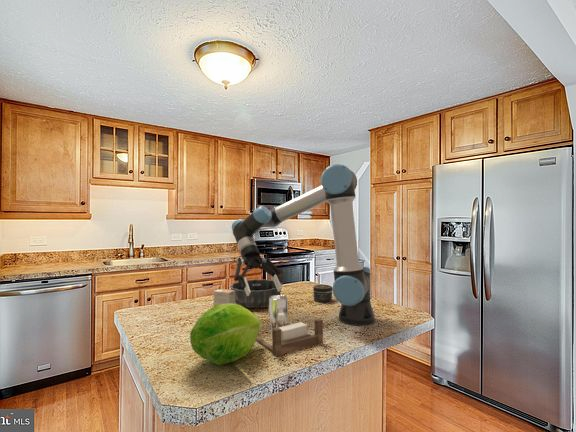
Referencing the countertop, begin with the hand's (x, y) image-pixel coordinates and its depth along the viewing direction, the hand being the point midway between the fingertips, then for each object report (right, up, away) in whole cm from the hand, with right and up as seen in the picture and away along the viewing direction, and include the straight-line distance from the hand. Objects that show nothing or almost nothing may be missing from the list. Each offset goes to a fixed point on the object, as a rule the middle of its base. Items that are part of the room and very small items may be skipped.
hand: (264, 292), depth 122 cm
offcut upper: (+10, -11, -16) cm, 22 cm away
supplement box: (-18, -15, +11) cm, 26 cm away
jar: (+27, -15, +44) cm, 54 cm away
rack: (+7, -15, -11) cm, 20 cm away
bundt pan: (-7, -16, +38) cm, 42 cm away
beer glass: (+5, -15, -8) cm, 18 cm away
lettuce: (-9, -15, -25) cm, 30 cm away
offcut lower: (+10, -14, -16) cm, 24 cm away
